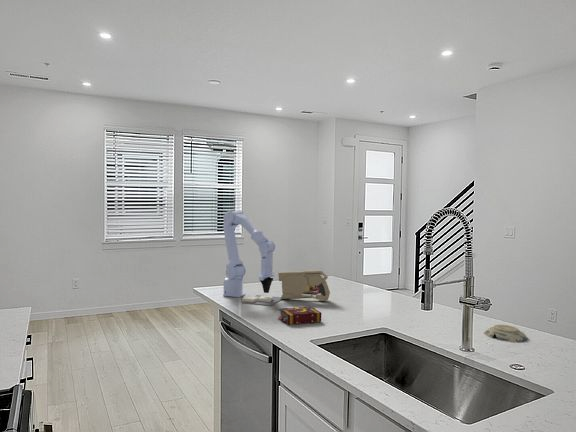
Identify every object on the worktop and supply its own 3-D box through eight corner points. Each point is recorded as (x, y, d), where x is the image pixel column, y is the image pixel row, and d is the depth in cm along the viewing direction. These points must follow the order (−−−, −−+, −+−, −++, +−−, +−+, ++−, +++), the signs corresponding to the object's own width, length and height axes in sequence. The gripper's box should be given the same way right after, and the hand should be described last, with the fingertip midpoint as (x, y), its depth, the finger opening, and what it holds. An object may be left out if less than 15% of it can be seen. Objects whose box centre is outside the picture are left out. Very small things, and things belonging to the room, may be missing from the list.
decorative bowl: (531, 336, 170) (490, 328, 180) (532, 327, 170) (490, 319, 180) (522, 346, 159) (479, 337, 168) (523, 336, 159) (479, 327, 168)
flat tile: (253, 302, 215) (253, 299, 215) (242, 301, 217) (242, 298, 217) (258, 300, 220) (258, 296, 220) (247, 299, 222) (247, 295, 222)
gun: (330, 300, 224) (328, 269, 223) (330, 301, 221) (328, 270, 220) (280, 301, 226) (279, 271, 226) (279, 303, 223) (278, 272, 223)
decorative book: (321, 323, 184) (322, 311, 183) (285, 326, 178) (285, 314, 178) (311, 316, 194) (311, 304, 194) (276, 319, 189) (276, 307, 188)
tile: (261, 298, 223) (258, 301, 217) (261, 295, 223) (258, 298, 217) (273, 299, 222) (269, 302, 216) (273, 296, 222) (269, 299, 216)
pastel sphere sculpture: (327, 294, 239) (327, 277, 239) (283, 293, 239) (284, 276, 239) (324, 285, 264) (324, 270, 264) (284, 285, 264) (284, 269, 264)
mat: (242, 303, 215) (242, 302, 215) (257, 295, 232) (257, 294, 232) (270, 306, 210) (270, 305, 210) (284, 298, 227) (284, 297, 227)
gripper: (268, 268, 213) (268, 296, 213) (279, 264, 227) (279, 290, 227) (255, 267, 215) (254, 294, 216) (266, 263, 229) (266, 289, 229)
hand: (266, 292), depth 222 cm, fingers closed
